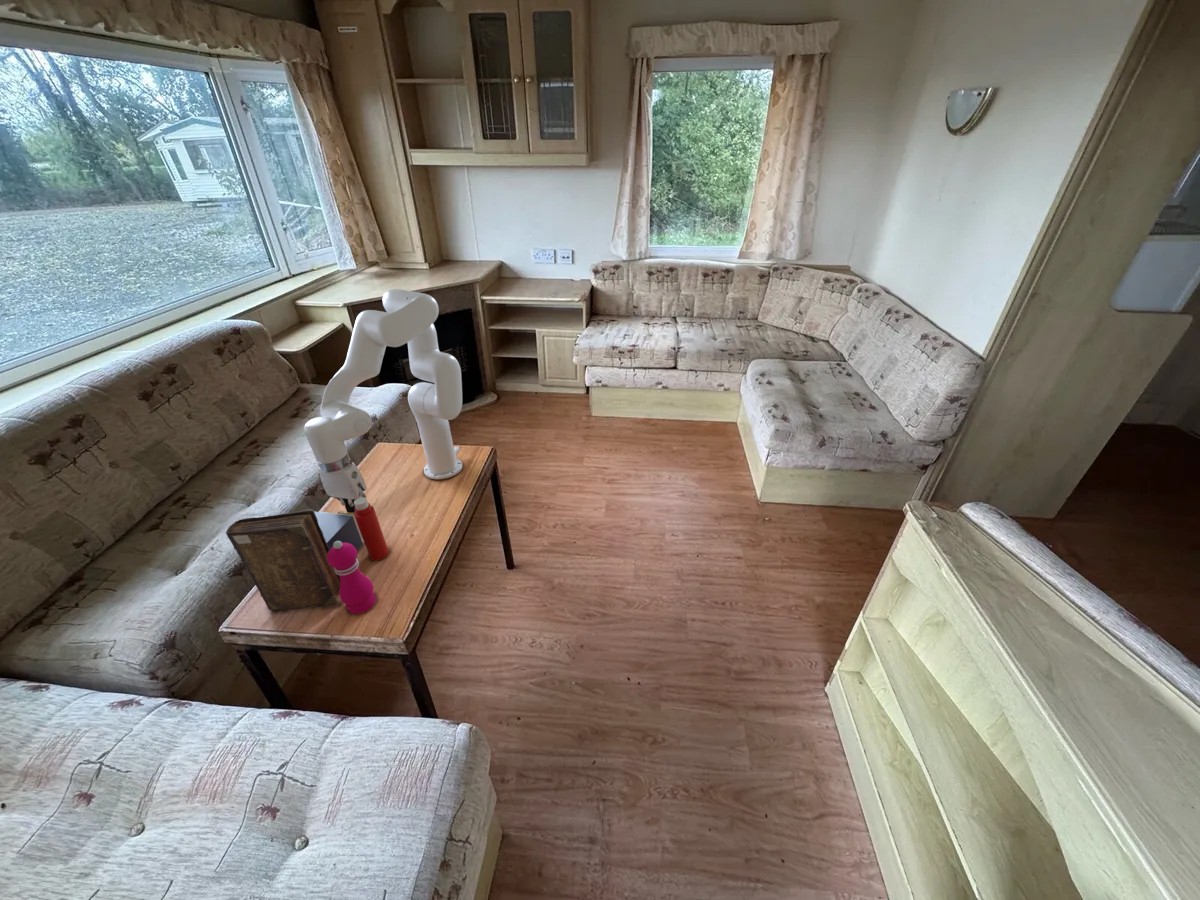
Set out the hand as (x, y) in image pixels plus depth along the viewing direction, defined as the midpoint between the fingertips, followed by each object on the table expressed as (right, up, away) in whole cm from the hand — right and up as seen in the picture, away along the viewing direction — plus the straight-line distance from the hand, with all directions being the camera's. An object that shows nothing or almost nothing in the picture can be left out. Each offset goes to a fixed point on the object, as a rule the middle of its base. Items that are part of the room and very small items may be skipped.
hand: (355, 514), depth 137 cm
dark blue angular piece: (-3, -11, -9) cm, 15 cm away
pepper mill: (+13, -19, -22) cm, 32 cm away
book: (-1, -18, -20) cm, 27 cm away
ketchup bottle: (+11, -10, -8) cm, 16 cm away
